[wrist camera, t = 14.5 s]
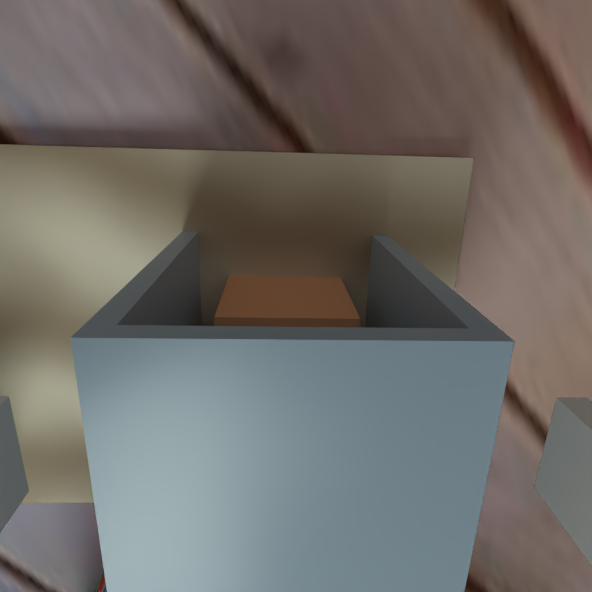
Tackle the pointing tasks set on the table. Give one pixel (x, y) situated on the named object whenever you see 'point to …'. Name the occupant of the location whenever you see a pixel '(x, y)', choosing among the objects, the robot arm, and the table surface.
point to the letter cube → (286, 302)
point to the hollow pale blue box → (289, 436)
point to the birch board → (212, 252)
